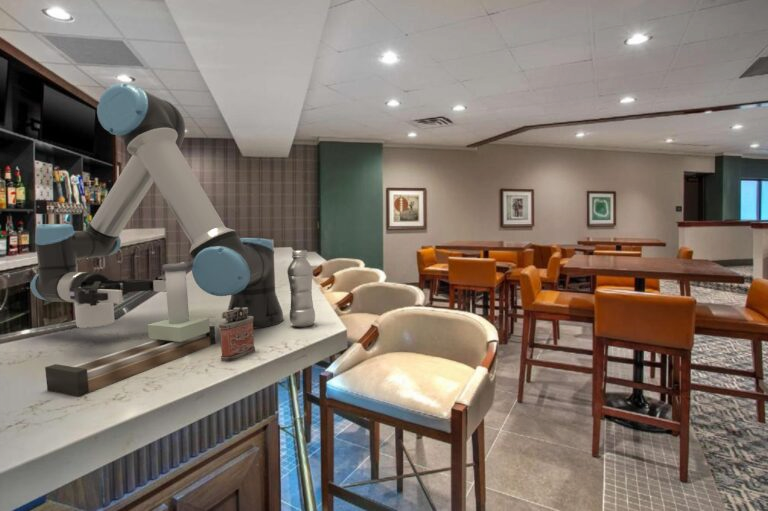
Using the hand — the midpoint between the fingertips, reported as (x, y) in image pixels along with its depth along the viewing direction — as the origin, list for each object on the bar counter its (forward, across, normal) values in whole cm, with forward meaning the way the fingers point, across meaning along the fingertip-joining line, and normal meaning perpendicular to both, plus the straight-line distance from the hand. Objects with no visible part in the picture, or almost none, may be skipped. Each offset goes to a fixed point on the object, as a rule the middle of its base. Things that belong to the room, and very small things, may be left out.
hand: (149, 291), depth 92 cm
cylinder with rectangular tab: (-36, -12, -13) cm, 40 cm away
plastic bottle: (+23, -25, -13) cm, 37 cm away
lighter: (+23, 0, -13) cm, 27 cm away
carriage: (+8, 0, -9) cm, 12 cm away
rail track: (+8, +9, -13) cm, 17 cm away
